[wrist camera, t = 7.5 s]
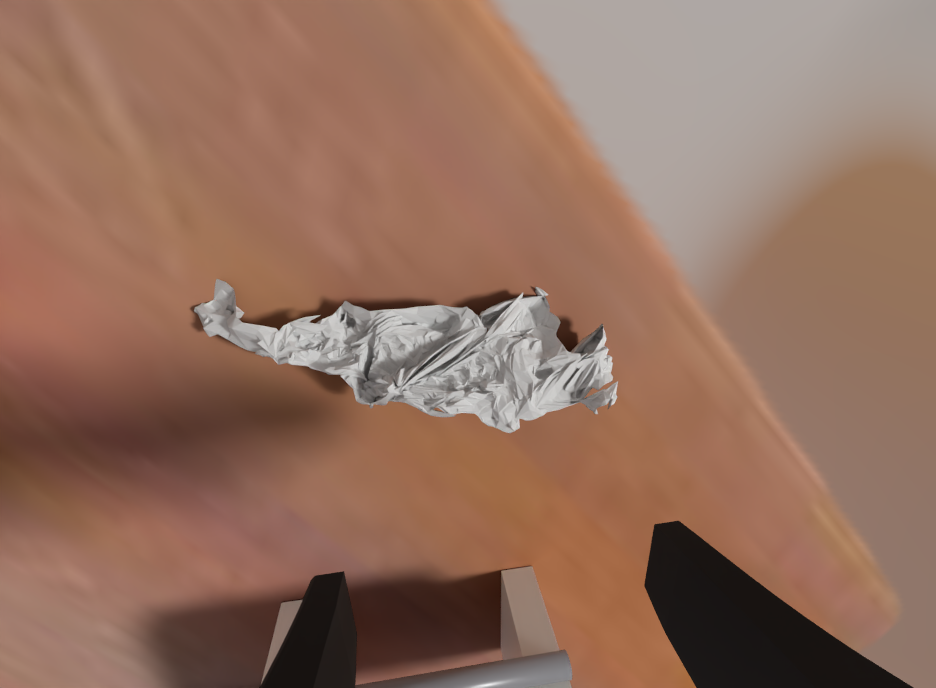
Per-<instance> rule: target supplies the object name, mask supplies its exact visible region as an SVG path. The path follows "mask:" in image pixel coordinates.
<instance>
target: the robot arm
mask: <svg viewBox="0 0 936 688" xmlns="http://www.w3.org/2000/svg"><path fill="white" fill-rule="evenodd" d="M644 586H645V588H646V590H647V593H648V595H649V597H650V600H651V602H652V604H653V607H654V609H655V611H656V614H657V616H658V618H659V620H660V622H661V625H662V627H663V629H664V631H665V633H666V635H667V637H668V638H669V640H670V642H671V644H672V646H673V647H674V649H675V651H676V653H677V654H678V656H679V658H680V660H681V661H682V663H683V665H684V667H685V668H686V670H687V672H688V674H689V675H690V677H691V679H692V680H693V682H694V684H695V686H696V687H697V688H913V687H912V686H910V685H908V684H907V683H905V682H903V681H902V680H900V679H899V678H897V677H895V676H894V675H892V674H891V673H889V672H887V671H886V670H884V669H882V668H881V667H879V666H878V665H876V664H875V663H873V662H872V661H870V660H868V659H867V658H865V657H863V656H862V655H860V654H859V653H857V652H856V651H854V650H853V649H851V648H850V647H848V646H847V645H845V644H844V643H842V642H841V641H839V640H838V639H836V638H835V637H833V636H832V635H830V634H829V633H828V632H826V631H825V630H823V629H822V628H820V627H819V626H817V625H816V624H815V623H813V622H812V621H810V620H809V619H807V618H806V617H804V616H803V615H802V614H800V613H799V612H797V611H796V610H795V609H793V608H792V607H791V606H789V605H788V604H786V603H785V602H784V601H782V600H781V599H780V598H778V597H777V596H775V595H774V594H773V593H771V592H770V591H769V590H767V589H766V588H765V587H763V586H762V585H761V584H759V583H758V582H757V581H755V580H754V579H753V578H752V577H750V576H749V575H748V574H746V573H745V572H744V571H742V570H741V569H740V568H739V567H737V566H736V565H735V564H733V563H732V562H731V561H730V560H728V559H727V558H726V557H724V556H723V555H722V554H721V553H719V552H718V551H717V550H716V549H714V548H713V547H712V546H710V545H709V544H708V543H707V542H705V541H704V540H703V539H702V538H700V537H699V536H698V535H696V534H695V533H694V532H693V531H691V530H690V529H689V528H687V527H686V526H685V525H683V524H682V523H681V522H680V521H674V522H667V523H661V524H655V525H654V531H653V537H652V543H651V549H650V555H649V561H648V567H647V573H646V579H645V585H644ZM356 649H357V632H356V627H355V622H354V617H353V612H352V608H351V603H350V598H349V593H348V588H347V584H346V579H345V574H344V572H337V573H331V574H324V575H317V576H315V577H314V578H313V579H312V580H311V581H310V584H309V586H308V589H307V591H306V593H305V596H304V598H303V600H302V603H301V605H300V607H299V609H298V611H297V614H296V616H295V618H294V620H293V622H292V624H291V626H290V629H289V631H288V633H287V635H286V637H285V639H284V641H283V643H282V645H281V647H280V649H279V651H278V653H277V655H276V657H275V659H274V661H273V662H272V664H271V666H270V668H269V670H268V672H267V674H266V676H265V678H264V680H263V682H262V684H261V686H260V687H259V688H355V678H356Z"/></svg>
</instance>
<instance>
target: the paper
mask: <svg viewBox="0 0 936 688" xmlns="http://www.w3.org/2000/svg"><path fill="white" fill-rule="evenodd" d="M535 292H536V294H537V297H536V296H527V297H523V293H522V294H521V295H520V296H519V297H518V298H512V299H510V300H507V301H504V302H500V303H498V304H496V305H494V306H492V307H490V308H488V309H487V310H485V311H482V312H481V313H480V316H479V317H478V316H477V315H476V314H475V313H474V312H473V311H472V310H471V309H469V308H468V307H467V306H466V307H463V308H456V307H449V306H443V305H434V306H419V307H412V308H404V309H388V310H376V311H368V310H366V309H364V308H362V307H358V306H353V305H352V304H350V303H348V302H347V301H345V302H344V303H343V305H342V306H340V307H339V308H338V310H337V311H336V312H335V313H334V314H333V315H332V316H329V317H327V318H324V319H322V320H320V321H318V322H317V323H316V324H315V323H310V321H311V320H313V319H315V318H317V317H319V316H320V315H317V316H310V317H304V318H301V319H298V320H295V321H292V322H290V323H288V324H286V325H283V327H282V328H281V329H280V330H279V331H278V330H277V328H272V327H267V326H261V325H255V324H248V323H243V322H241V321H240V320H239V319H240V318H241V317H242V315H243V314H244V312H243V311H242V310H240V309H239V308H238V307H237V306H236V300H235V292H234V289H233V288H232V287H231V286H230V285H228V284H227V283H226V282H224V281H221V280H219V279H216V284H215V293H214V300H213V301H210V302H208V303H201V304H200V305H199V306H197V307H195V309H194V311H195V312H196V313H197V314H198V315H199V317H200V320H201V322H202V325H203V329H204V330H205V332H206V334H207V335H208V336H209V337H211V336H214V335H217V334H219V335H220V336H222V337H224V338H226V339H227V340H229V341H231V342H232V343H234V344H236V345H238V346H239V347H242V348H244V349H246V350H248V351H254V352H256V353H255V354H258V355H261V356H263V357H265V356H267V357H271V358H273V359H274V360H275V361H276V362H277V364H278V365H279V364H284V363H289V364H291V365H301V366H308V367H310V368H311V369H314V370H319V371H322V372H325V373H327V374H328V375H331V374H335V375H342V376H341V377H342V378H343V379H344V380H345V381H346V383H347V384H349V386H350V387H352V388H353V390H354V394H355V398H356V401H357V402H359V403H360V404H369V405H370V408H372V407H373V405H374V404H377V405H386V404H387V403H388V401H393V402H394V401H396V402H404V403H407V404H409V405H412V406H414V407H416V408H418V409H419V410H420V411H422V412H424V413H426V414H429V415H431V416H438V417H454V416H456V415H453V414H457V413H473V414H476V415H478V416H479V418H480V419H481V421H482V422H483V423H485V424H487V425H488V426H492V427H495V428H497V429H500V430H501V431H504V432H507V433H511V432H514V431H516V430H517V429H519V428H520V426H519V419H524V420H533V419H536V418H538V417H541V416H543V415H544V414H545V413H546V412H550V411H555V410H559V409H562V408H565V407H567V406H570V405H573V404H576V403H579V402H581V403H583V404H585V405H586V407H587V408H589V409H590V410H592V411H593V412H594V413H595V414H598V413H597V410H596V408H598V407H600V406H604V405H607V403H608V402H609V405H608V409H609V407H610V406H611V405H613V404H614V403H615V401H616V399H617V395H616V390H617V384H618V381H617V382H616V383H614V384H613V385H611V386H610V387H609V388H608V389H603V390H601V391H599V392H597V393H595V394H593V395H591V396H589V397H587V398H585V399H583V398H584V397H585V396H586V395H587V394H588V392H589V391H590V390H591V389H592V388H595V389H597V390H599V389H600V388H601V387H602V386H603V385H605V384H606V383H609V382H612V379H613V376H612V375H611V369H612V365H613V363H612V362H611V361H612V357H611V356H609V355H607V352H608V350H609V349H608V348H607V347H606V346H605V347H604V344H605V342H606V336H605V331H604V328H603V324H601V325H600V326H599V327H598V328H597V329H596V330H595V331H594V332H593V333H591V334H590V335H588V336H587V337H586V338H583V339H582V340H581V341H580V342H579V343H578V344H577V346H576V347H575V348H574V349H573V350H572V351H571V352H568V351H567V350H566V349H565V347H564V346H563V344H562V343H561V342H560V340H559V339H558V338H557V335H556V332H557V330H558V327H559V325H560V323H561V322H560V320H559V318H558V317H557V316H555V315H554V314H552V313H551V312H549V309H550V306H549V304H548V302H547V299H546V297H545V295H548V294H547V293H546V292H545V291H543V290H542V289H540V288H538V287H536V286H535ZM215 300H217V301H215ZM484 327H486V328H484ZM487 328H489V331H488V332H487ZM486 332H487V333H486ZM606 355H607V356H606ZM436 407H437V408H440V409H441V410H442V411H444V412H440V411H436V410H433V409H434V408H436Z"/></svg>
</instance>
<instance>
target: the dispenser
mask: <svg viewBox="0 0 936 688" xmlns="http://www.w3.org/2000/svg"><path fill="white" fill-rule="evenodd" d="M301 603H302V600H297V601H290V602H283V603H281V607H280V611H279V614H278V618H277V622H276V626H275V630H274V634H273V638H272V642H271V646H270V650H269V654H268V658H267V662H266V666H265V670H264V674H263V678H262V682H263V680H264V678H265V676H266V674H267V672H268V670H269V668H270V666H271V664H272V662H273V661H274V659H275V657H276V655H277V653H278V651H279V649H280V647H281V645H282V643H283V641H284V639H285V637H286V635H287V633H288V631H289V629H290V626H291V624H292V622H293V620H294V618H295V616H296V614H297V611H298V609H299V607H300V605H301ZM501 651H502V656H503V660H501V661H495V662H489V663H483V664H477V665H471V666H465V667H460V668H454V669H448V670H442V671H436V672H430V673H424V674H419V675H413V676H407V677H401V678H395V679H389V680H383V681H378V682H372V683H366V684H360V685H355V688H572V687H571V684H570V681H569V680H572V670H571V664H570V660H569V657H568V654H567V652H566V650H559V647H558V644H557V641H556V638H555V635H554V632H553V629H552V625H551V622H550V619H549V616H548V613H547V610H546V607H545V604H544V601H543V598H542V595H541V592H540V589H539V586H538V583H537V579H536V576H535V573H534V570H533V567H532V566H530V567H523V568H516V569H509V570H502V571H501ZM262 682H261V684H262Z"/></svg>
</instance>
